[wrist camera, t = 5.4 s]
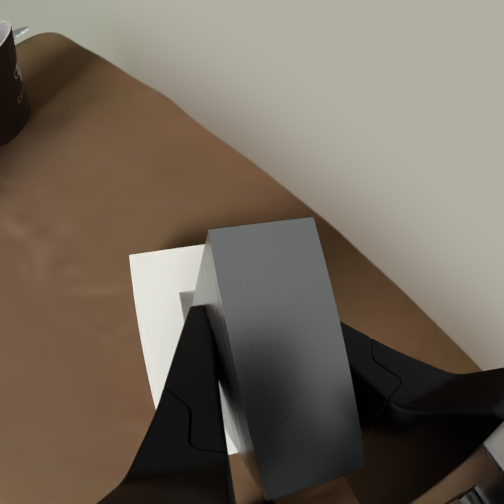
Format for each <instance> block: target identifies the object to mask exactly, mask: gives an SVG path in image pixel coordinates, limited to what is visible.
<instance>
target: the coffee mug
mask: <svg viewBox="0 0 504 504" xmlns="http://www.w3.org/2000/svg"><path fill="white" fill-rule="evenodd" d="M29 115H30V105H29V102H28V98H27V95H26V91H25V87H24V84H23V80H22V76H21V71H20V67H19V63H18V58H17V54H16V49H15V44H14V38H13V33H12V27H11V24H10V22H8V21H5V20H0V146H3V145H5V144H6V143H8V142H9V141H11V140H12V139H13V138H14V137H15V136H16V135H17V134H18V133H19V132H20V131H21V130H22V129H23V127H24V126H25V124H26V122H27V120H28V118H29Z"/></svg>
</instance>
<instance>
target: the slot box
mask: <svg viewBox="0 0 504 504" xmlns="http://www.w3.org/2000/svg"><path fill="white" fill-rule="evenodd" d="M204 246H205V244H203V245H196V246H189V247H182V248H175V249H168V250H161V251H154V252H147V253H140V254H134V255H129V258H130V267H131V276H132V284H133V291H134V299H135V306H136V312H137V319H138V325H139V331H140V337H141V342H142V348H143V353H144V358H145V363H146V368H147V373H148V378H149V382H150V387H151V391H152V396H153V400H154V404H155V408H156V409H157V406H158V403H159V400H160V397H161V394H162V391H163V389H164V385H165V381H166V378H167V375H168V372H169V369H170V365H171V362H172V359H173V356H174V353H175V350H176V347H177V344H178V341H179V338H180V335H181V331H182V328H183V325H184V322H185V319H186V316H187V313H188V310H189V308H190V307H191V306H193V305H192V303H193V298H194V293H195V288H196V283H197V279H198V274H199V269H200V265H201V260H202V255H203V251H204ZM225 434H226V441H227V448H228V455H230V454H234V453H238V451H237V449H236V447H235V446H234V444H233V442H232V440H231V438H230V436H229V435H228V433H227V431H226V429H225Z"/></svg>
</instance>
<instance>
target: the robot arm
mask: <svg viewBox="0 0 504 504" xmlns="http://www.w3.org/2000/svg"><path fill="white" fill-rule="evenodd" d="M340 325H341V330H342V334H343V339H344V344H345V348H346V353H347V358H348V363H349V368H350V373H351V378H352V384H353V389H354V394H355V400H356V405H357V411H358V417H359V423H360V429H361V436H362V442H363V449H364V456H365V463H366V465H365V466H363V467H360V468H358V469H356V470H354V471H351V472H349V473H347V474H344V475H345V477H346V479H347V481H348V483H349V485H350V487H351V488H352V490H353V492H354V494H355V496H356V497H357V499H358V501H359V503H360V504H504V368H499V369H493V370H487V371H481V372H475V373H469V374H454V373H450V372H446V371H443V370H441V369H438V368H436V367H433V366H431V365H429V364H426V363H424V362H421V361H419V360H416V359H414V358H411V357H409V356H407V355H405V354H402V353H400V352H398V351H396V350H394V349H392V348H390V347H388V346H386V345H384V344H382V343H380V342H378V341H376V340H374V339H371V338H370V337H368V336H367V335H365V334H363V333H361V332H359V331H357V330H355V329H353V328H352V327H350V326H348V325H346V324H344V323H342V322H341V321H340ZM97 504H236V499H235V493H234V487H233V481H232V475H231V468H230V461H229V455H228V448H227V441H226V434H225V427H224V419H223V411H222V404H221V396H220V387H219V379H218V371H217V362H216V354H215V345H214V336H213V332H212V329H211V326H210V323H209V320H208V317H207V314H206V311H205V308H204V305H196V306H191V307H190V308H189V310H188V313H187V316H186V319H185V322H184V325H183V328H182V331H181V335H180V338H179V341H178V344H177V347H176V350H175V353H174V356H173V359H172V362H171V365H170V369H169V372H168V375H167V378H166V381H165V385H164V389H163V391H162V394H161V397H160V400H159V403H158V406H157V409H156V412H155V415H154V417H153V419H152V422H151V424H150V426H149V429H148V431H147V433H146V435H145V437H144V439H143V441H142V444H141V446H140V448H139V450H138V452H137V454H136V456H135V458H134V461H133V463H132V465H131V467H130V469H129V471H128V473H127V474H126V476H125V478H124V479H123V480H122V482H121V483H120V484H119V485H118V486H117V487H116V488H115V489H114V490H113V491H111V492H110V493H109V494H108V495H107V496H105V497H104V498H103V499H102V500H100V501H99V502H98V503H97ZM262 504H276V503H275V502H274V501H272V500H270V501H265V502H264V503H262Z"/></svg>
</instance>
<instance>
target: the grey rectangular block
mask: <svg viewBox="0 0 504 504" xmlns="http://www.w3.org/2000/svg"><path fill="white" fill-rule="evenodd" d="M192 305H193V306H196V305H204V308H205V311H206V314H207V317H208V320H209V323H210V326H211V329H212V332H213V336H214V345H215V354H216V362H217V371H218V379H219V387H220V396H221V404H222V411H223V419H224V427H225V429H226V431H227V433H228V435H229V436H230V438H231V440H232V442H233V444H234V446H235V447H236V449H237V451H238V453H239V454H240V456H241V458H242V460H243V462H244V463H245V465H246V467H247V468H248V470H249V472H250V474H251V475H252V477H253V479H254V480H255V482H256V484H257V485H258V487H259V489H260V490H261V492H262V494H263V495H264V497H265V498H266V500H267V501H270V500H273V499H277V498H280V497H284V496H287V495H290V494H293V493H296V492H299V491H302V490H305V489H308V488H311V487H314V486H316V485H319V484H322V483H324V482H327V481H330V480H332V479H335V478H337V477H340V476H342V475H344V474H347V473H349V472H351V471H354V470H356V469H358V468H360V467H363V466H365V465H366V463H365V456H364V449H363V442H362V436H361V429H360V423H359V417H358V411H357V405H356V400H355V394H354V389H353V384H352V378H351V373H350V368H349V363H348V358H347V353H346V348H345V344H344V339H343V334H342V330H341V325H340V321H339V316H338V312H337V308H336V303H335V299H334V295H333V291H332V286H331V282H330V278H329V274H328V270H327V266H326V262H325V259H324V255H323V251H322V247H321V243H320V240H319V236H318V232H317V229H316V225H315V221H314V218H313V217H310V218H301V219H292V220H284V221H275V222H267V223H259V224H251V225H243V226H235V227H227V228H219V229H212V230H208V233H207V238H206V242H205V246H204V251H203V255H202V260H201V265H200V269H199V274H198V279H197V283H196V288H195V293H194V298H193V303H192Z"/></svg>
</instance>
